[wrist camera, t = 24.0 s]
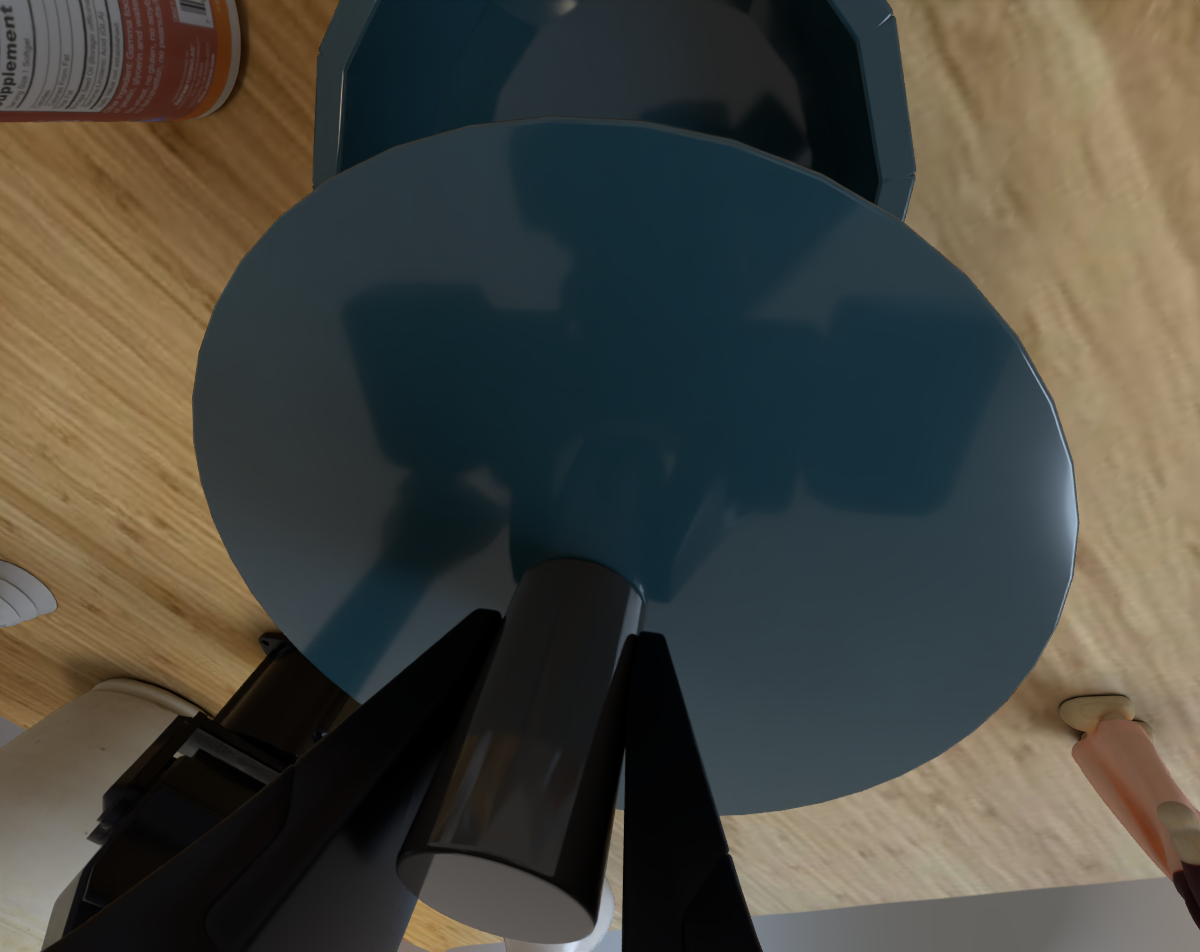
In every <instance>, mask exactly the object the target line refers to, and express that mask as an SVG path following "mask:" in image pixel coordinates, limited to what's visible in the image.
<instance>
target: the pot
mask: <svg viewBox="0 0 1200 952" xmlns="http://www.w3.org/2000/svg"><path fill="white" fill-rule="evenodd" d="M892 15H893V11H892V8H891V7H890V5H889V4H888V2H887V0H340V1H339V3H338V6H337V8H336V10H335V13H334V15H333V17H332V20H331V22H330V24H329V27H328V29H327V31H326V34H325V36H324V38H323V40H322V43H321V45H320V47H319V52H320V54H318V56H317V78H316V103H315V129H314V154H313V180H312V181H313V184H314V185H313V191H314V190H315V189H316V188H318V187H319V186H320V185H321V184H323V183H324V182H325V181H327V180H328V179H329V178H331V177H333V176H335V175H337V174H339V173H341V172H343V171H345V170H347V169H349V168H351V167H353V166H355V165H357V164H359V163H361V162H363V161H365V160H367V159H369V158H371V157H373V156H375V155H377V154H379V153H381V152H383V151H385V150H387V149H389V148H391V147H393V146H396V145H400V144H403V143H407V142H410V141H414V140H417V139H421V138H424V137H428V136H431V135H435V134H438V133H442V132H445V131H449V130H452V129H456V128H459V127H462V126H466V125H471V124H480V123H489V122H498V121H507V120H516V119H525V118H534V117H544V116H553V115H558V116H579V117H598V118H616V119H635V120H649V121H654V122H658V123H663V124H668V125H672V126H677V127H682V128H686V129H691V130H696V131H700V132H705V133H709V134H714V135H719V136H723V137H728V138H733V139H736V140H739V141H741V142H744V143H746V144H749V145H751V146H754V147H757V148H759V149H762V150H764V151H767V152H770V153H772V154H775V155H777V156H780V157H782V158H785V159H788V160H790V161H793V162H795V163H798V164H800V165H803V166H806V167H808V168H811V169H813V170H816V171H818V172H820V173H822V174H823V175H825V176H827V177H828V178H830V179H832V180H834V181H835V182H837V183H839V184H840V185H842V186H844V187H845V188H847V189H849V190H851V191H852V192H854V193H856V194H857V195H859V196H861V197H863V198H864V199H866V200H868V201H869V202H871V203H873V204H874V205H876V206H878V207H880V208H881V209H883V210H885V211H886V212H888V213H890V214H891V215H893V216H895V217H897V218H898V219H900V220H902V221H903V222H904V221H905V217H906V213H907V209H908V205H909V201H910V197H911V194H912V190H913V186H914V182H915V174H914V173H915V172H916V164H915V157H914V149H913V142H912V134H911V127H910V120H909V112H908V105H907V98H906V90H905V83H904V75H903V68H902V61H901V53H900V46H899V39H898V31H897V24H896V18H895V17H894V16H892Z"/></svg>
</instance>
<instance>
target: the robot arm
mask: <svg viewBox="0 0 1200 952" xmlns="http://www.w3.org/2000/svg"><path fill="white" fill-rule="evenodd" d="M501 621H502V615H501V613H500V612H499V611H497V610H492V609H484V608H478V609H476V610H474V611H472V612H471V613H470V614H469V615H468V616H467V617H465V618H464V619H463V620H462V621H461V622H459V623H458V624H457V625H456V626H455V627H454V628H452V629H451V630H450V631H449V632H448V633H446V634H445V635H444V636H443V637H442V638H441V639H439V640H438V641H437V642H436V643H435V644H433V645H432V646H431V647H430V648H429V649H428V650H426V651H425V652H424V653H423V654H422V655H420V656H419V657H418V658H417V659H416V660H415V661H413V662H412V663H411V664H410V665H409V666H407V667H406V668H405V669H404V670H403V671H401V672H400V673H399V674H398V675H397V676H396V677H394V678H393V679H392V680H391V681H390V682H388V683H387V684H386V685H385V686H384V687H383V688H381V689H380V690H379V691H378V692H377V693H375V694H374V695H373V696H372V697H371V698H370V699H368V700H367V701H366V702H365V703H364V704H362V705H361V704H360V703H358V702H357V701H356V700H355V699H353V698H352V697H351V696H350V695H348V694H347V693H346V692H345V691H343V690H342V689H341V688H340V687H338V686H337V685H336V684H335V683H334V682H332V681H331V680H330V679H329V678H327V677H326V676H325V675H324V674H323V673H322V672H321V671H320V670H319V669H318V668H317V667H316V666H315V665H314V664H313V663H311V662H310V661H309V660H308V659H307V658H306V657H305V656H304V655H303V654H302V653H301V652H300V651H299V650H298V649H297V648H296V647H295V646H294V644H293V643H292V642H291V641H290V640H289V639H288V638H287V637H286V636H285V635H282V634H275V633H268V632H265V633H263V634H262V635H261V636H260V637H259V639H258V641H259V643H260V645H261V646H262V648H263V650H264V652H265V653H266V655H267V656H266V658H265V659H264V660H263V661H262V662H261V663H260V665H259V666H258V667H257V668H256V669H255V671H254V672H253V673H252V674H251V675H250V676H249V678H248V679H247V680H246V681H245V682H244V683H243V685H242V686H241V687H240V688H239V689H238V690H237V692H236V693H235V694H234V695H233V696H232V698H231V699H230V700H229V701H228V702H227V703H226V705H225V706H224V707H223V708H222V709H221V710H220V712H219V713H218V714H217V715H216V716H215V718H214V719H213V720H211V719H209V718H208V715H206V714H205V713H203V712H201V711H199V712H198V713H197V714H196V715H195V716H194V717H193V718H192V717H191V716H190V717H188V716H182V715H178V716H177V717H176V718H175V719H174V720H173V721H172V722H171V724H170V725H169V726H168V727H167V728H166V729H165V730H164V731H163V732H162V733H161V734H160V736H159V737H158V738H157V739H156V740H155V741H154V742H153V743H152V744H151V745H150V746H149V747H148V748H147V749H146V750H145V752H144V753H143V754H142V755H141V756H140V757H139V758H138V759H137V760H136V761H135V762H134V763H133V764H132V765H131V766H130V767H129V768H128V769H127V770H126V771H125V772H124V773H123V774H122V775H121V776H120V778H119V779H118V780H117V781H116V782H115V783H114V784H113V785H112V786H111V787H110V788H109V789H108V790H107V791H106V792H105V794H104V795H103V796H102V814H101V815H100V816H99V818H98V819H97V820H96V821H97V822H100V823H99V824H98V825H97V827H96V828H95V829H94V830H93V831H92V832H91V834H90V835H89V836H88V837H87V838H86V839H87V840H89V841H91V842H93V843H95V844H97V845H100V846H101V847H100V848H99V849H98V851H97V852H96V853H95V854H94V855H93V856H92V858H91V859H90V860H89V861H88V862H87V864H86V865H85V866H84V867H83V868H82V869H81V871H80V872H79V873H78V874H77V875H76V876H75V878H74V879H73V880H72V881H71V882H70V883H69V885H68V886H67V887H66V888H65V889H64V890H63V892H62V893H61V894H60V895H59V897H58V898H57V899H56V901H55V903H54V906H53V909H52V913H51V916H50V920H49V923H48V927H47V930H46V934H45V938H44V941H43V945H42V948H41V951H40V952H397V950H398V948H399V945H400V943H401V940H402V938H403V935H404V933H405V930H406V928H407V925H408V923H409V920H410V918H411V915H412V913H413V910H414V908H415V905H416V903H417V900H418V898H417V897H416V896H415V895H413V894H412V893H411V892H410V891H409V890H408V889H407V888H406V887H405V886H404V885H403V884H402V882H401V881H400V879H399V878H398V876H397V873H396V868H395V866H396V858H397V855H398V853H399V850H400V848H401V846H402V844H403V841H404V839H405V837H406V835H407V832H408V830H409V828H410V826H411V823H412V821H413V819H414V817H415V815H416V812H417V810H418V808H419V806H420V803H421V801H422V799H423V797H424V794H425V792H426V790H427V788H428V785H429V783H430V781H431V779H432V776H433V774H434V772H435V770H436V767H437V765H438V763H439V761H440V758H441V756H442V754H443V752H444V749H445V747H446V745H447V743H448V740H449V738H450V736H451V734H452V731H453V729H454V727H455V725H456V722H457V720H458V718H459V716H460V713H461V711H462V709H463V707H464V704H465V702H466V700H467V698H468V695H469V693H470V691H471V689H472V686H473V684H474V682H475V680H476V677H477V675H478V673H479V671H480V668H481V666H482V664H483V662H484V659H485V657H486V655H487V653H488V650H489V648H490V646H491V644H492V641H493V639H494V637H495V635H496V632H497V630H498V628H499V626H500V623H501ZM177 752H178V753H180V754H182V755H184V756H180V757H178V758H175V757H173V756H174V755H175V754H176V753H177ZM728 852H729V847H728V844H727V841H726V837H725V834H724V831H723V827H722V824H721V821H720V817H719V814H718V811H717V807H716V804H715V801H714V797H713V794H712V791H711V787H710V784H709V781H708V777H707V774H706V771H705V767H704V764H703V761H702V757H701V754H700V751H699V747H698V744H697V741H696V738H695V734H694V731H693V728H692V724H691V721H690V718H689V714H688V711H687V708H686V704H685V701H684V698H683V694H682V691H681V688H680V684H679V681H678V678H677V674H676V671H675V668H674V664H673V661H672V658H671V654H670V651H669V648H668V644H667V641H666V638H665V636H664V635H663V634H662V633H656V632H649V631H641V632H640V633H639V636H638V641H637V646H636V651H635V657H634V662H633V667H632V672H631V677H630V682H629V688H628V694H627V703H626V740H625V795H624V850H623V906H622V952H763V950H762V948H761V945H760V943H759V940H758V938H757V935H756V932H755V929H754V925H753V923H752V919H751V916H750V913H749V910H748V907H747V904H746V901H745V898H744V895H743V892H742V889H741V886H740V883H739V879H738V876H737V873H736V869H735V866H734V863H733V860H732V857H731V855H729V854H728Z"/></svg>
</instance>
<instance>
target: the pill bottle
mask: <svg viewBox="0 0 1200 952" xmlns="http://www.w3.org/2000/svg"><path fill="white" fill-rule="evenodd" d="M240 56H241V33H240V26H239V19H238V13H237V8H236V3H235V0H0V122H117V121H129V122H136V121H139V122H147V121H149V122H175V121H188V120H194V119H199V118H202V117H205V116H207V115H209V114H211V113H212V112H214V111H215V110H217V109H218V108H219V107H220V106H221V105H222V104H223V103H224V102H225V101H226V99H227V98H228V96H229V94H230V93H231V91H232V89H233V87H234V84H235V82H236V78H237V75H238V70H239V64H240Z"/></svg>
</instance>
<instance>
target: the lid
mask: <svg viewBox="0 0 1200 952" xmlns="http://www.w3.org/2000/svg"><path fill="white" fill-rule="evenodd" d="M192 409H193V442H194V448H195V453H196V459H197V464H198V470H199V475H200V481H201V485H202V488H203V491H204V494H205V497H206V500H207V503H208V506H209V509H210V513H211V516H212V519H213V522H214V524H215V526H216V528H217V530H218V533H219V535H220V537H221V539H222V541H223V543H224V545H225V548H226V550H227V552H228V554H229V556H230V558H231V560H232V562H233V563H234V565H235V567H236V568H237V570H238V571H239V573H240V575H241V576H242V578H243V580H244V581H245V583H246V585H247V586H248V588H249V590H250V591H251V593H252V594H253V595H254V597H255V598H256V599H257V601H258V602H259V603H260V605H261V606H262V607H263V609H264V610H265V611H266V613H267V614H268V615H269V617H270V618H271V619H272V621H273V622H274V623H275V624H276V626H277V627H278V628H279V629H280V630H281V631H282V632H283V633H284V634H285V636H286V637H287V638H288V639H289V640H290V641H291V642H292V643H293V644H294V646H295V647H296V648H297V649H298V650H299V651H300V652H301V653H302V654H303V655H304V656H305V657H306V658H307V659H308V660H309V661H310V662H311V663H313V664H314V665H315V666H316V667H317V668H318V669H319V670H320V671H321V672H322V673H323V674H324V675H325V676H326V677H327V678H329V679H330V680H331V681H332V682H334V683H335V684H336V685H337V686H338V687H340V688H341V689H342V690H343V691H345V692H346V693H347V694H348V695H350V696H351V697H352V698H353V699H355V700H356V701H357V702H358V703H360V704H361V705H362V704H364V703H365V702H366V701H367V700H368V699H370V698H371V697H372V696H373V695H374V694H375V693H377V692H378V691H379V690H380V689H381V688H383V687H384V686H385V685H386V684H387V683H388V682H390V681H391V680H392V679H393V678H394V677H396V676H397V675H398V674H399V673H400V672H401V671H403V670H404V669H405V668H406V667H407V666H409V665H410V664H411V663H412V662H413V661H415V660H416V659H417V658H418V657H419V656H420V655H422V654H423V653H424V652H425V651H426V650H428V649H429V648H430V647H431V646H432V645H433V644H435V643H436V642H437V641H438V640H439V639H441V638H442V637H443V636H444V635H445V634H446V633H448V632H449V631H450V630H451V629H452V628H454V627H455V626H456V625H457V624H458V623H459V622H461V621H462V620H463V619H464V618H465V617H467V616H468V615H469V614H470V613H471V612H472V611H474V610H476V609H478V608H484V609H492V610H497V611H499V612H500V613H501V615H502V621H501V623H500V626H499V628H498V630H497V632H496V635H495V637H494V639H493V641H492V644H491V646H490V648H489V650H488V653H487V655H486V657H485V659H484V662H483V664H482V666H481V668H480V671H479V673H478V675H477V677H476V680H475V682H474V684H473V686H472V689H471V691H470V693H469V695H468V698H467V700H466V702H465V704H464V707H463V709H462V711H461V713H460V716H459V718H458V720H457V722H456V725H455V727H454V729H453V731H452V734H451V736H450V738H449V740H448V743H447V745H446V747H445V749H444V752H443V754H442V756H441V758H440V761H439V763H438V765H437V767H436V770H435V772H434V774H433V776H432V779H431V781H430V783H429V785H428V788H427V790H426V792H425V794H424V797H423V799H422V801H421V803H420V806H419V808H418V810H417V812H416V815H415V817H414V819H413V821H412V823H411V826H410V828H409V830H408V832H407V835H406V837H405V839H404V841H403V844H402V846H401V848H400V850H399V853H398V855H397V858H396V866H395V868H396V873H397V876H398V878H399V879H400V881H401V882H402V884H403V885H404V886H405V887H406V888H407V889H408V890H409V891H410V892H411V893H412V894H413V895H415V896H416V897H417V898H418V899H419V900H421V901H422V902H423V903H425V904H426V905H428V906H429V907H431V908H433V909H434V910H436V911H438V912H440V913H441V914H443V915H445V916H447V917H449V918H451V919H453V920H456V921H458V922H460V923H462V924H465V925H467V926H470V927H472V928H475V929H478V930H481V931H484V932H487V933H490V934H493V935H497V936H500V937H504V938H508V939H513V940H518V941H523V942H530V943H538V944H565V943H572V942H577V941H580V940H583V939H585V938H587V937H588V936H590V935H591V934H592V932H593V931H594V929H595V927H596V925H597V922H598V916H599V910H600V904H601V897H602V891H603V885H604V878H605V872H606V866H607V860H608V853H609V847H610V841H611V834H612V828H613V822H614V816H615V809H619V810H624V795H625V740H626V703H627V694H628V688H629V682H630V677H631V672H632V667H633V662H634V657H635V651H636V646H637V641H638V636H639V633H640V632H641V631H649V632H656V633H662V634H663V635H664V636H665V638H666V641H667V644H668V648H669V651H670V654H671V658H672V661H673V664H674V668H675V671H676V674H677V678H678V681H679V684H680V688H681V691H682V694H683V698H684V701H685V704H686V708H687V711H688V714H689V718H690V721H691V724H692V728H693V731H694V734H695V738H696V741H697V744H698V747H699V751H700V754H701V757H702V761H703V764H704V767H705V771H706V774H707V777H708V781H709V784H710V787H711V791H712V794H713V797H714V801H715V804H716V807H717V811H718V814H719V816H724V815H746V814H755V813H764V812H773V811H782V810H787V809H793V808H798V807H803V806H808V805H813V804H818V803H823V802H827V801H830V800H834V799H837V798H840V797H844V796H847V795H851V794H854V793H858V792H861V791H864V790H866V789H869V788H872V787H874V786H877V785H879V784H882V783H884V782H887V781H889V780H892V779H894V778H897V777H899V776H901V775H903V774H905V773H907V772H909V771H911V770H913V769H915V768H917V767H919V766H921V765H922V764H924V763H926V762H928V761H930V760H932V759H934V758H936V757H938V756H939V755H941V754H942V753H943V752H945V751H946V750H948V749H949V748H951V747H952V746H954V745H955V744H957V743H958V742H959V741H961V740H962V739H964V738H965V737H967V736H968V735H970V734H971V733H972V732H974V731H975V730H976V729H977V728H978V727H979V726H980V725H981V724H983V723H984V722H985V721H986V720H987V719H988V718H989V717H990V716H991V715H992V714H993V713H995V712H996V711H997V710H998V709H999V708H1000V707H1001V706H1002V705H1003V704H1004V703H1005V702H1006V701H1007V700H1008V699H1009V698H1010V696H1011V695H1012V694H1013V693H1014V691H1015V690H1016V689H1017V688H1018V687H1019V685H1020V684H1021V683H1022V682H1023V680H1024V679H1025V678H1026V677H1027V675H1028V674H1029V673H1030V672H1031V670H1032V669H1033V668H1034V667H1035V665H1036V663H1037V661H1038V660H1039V658H1040V656H1041V654H1042V652H1043V650H1044V649H1045V647H1046V645H1047V643H1048V641H1049V640H1050V638H1051V636H1052V634H1053V632H1054V630H1055V629H1056V627H1057V625H1058V622H1059V619H1060V616H1061V613H1062V610H1063V607H1064V604H1065V601H1066V598H1067V595H1068V592H1069V588H1070V585H1071V582H1072V579H1073V575H1074V566H1075V557H1076V548H1077V539H1078V530H1079V513H1078V503H1077V493H1076V483H1075V474H1074V464H1073V459H1072V456H1071V453H1070V450H1069V447H1068V443H1067V440H1066V437H1065V434H1064V431H1063V428H1062V425H1061V421H1060V418H1059V415H1058V412H1057V409H1056V406H1055V403H1054V400H1053V398H1052V396H1051V394H1050V392H1049V391H1048V389H1047V387H1046V385H1045V383H1044V382H1043V380H1042V378H1041V376H1040V374H1039V373H1038V371H1037V369H1036V367H1035V365H1034V364H1033V362H1032V360H1031V358H1030V356H1029V355H1028V353H1027V351H1026V349H1025V347H1024V346H1023V344H1022V342H1021V340H1020V338H1019V337H1018V335H1017V334H1016V333H1015V332H1014V331H1013V330H1012V328H1011V327H1010V326H1009V325H1008V324H1007V322H1006V321H1005V320H1004V319H1003V318H1002V316H1001V315H1000V314H999V313H998V312H997V310H996V309H995V308H994V307H993V306H992V304H991V303H990V302H989V301H988V300H987V298H986V297H985V296H984V295H983V294H982V292H981V291H980V290H979V289H978V288H977V286H976V285H975V284H974V283H973V282H972V280H971V279H970V278H969V277H968V276H967V275H966V274H965V273H964V272H962V271H961V270H960V269H959V268H958V267H957V266H955V265H954V264H953V263H952V262H951V261H949V260H948V259H947V258H946V257H945V256H943V255H942V254H941V253H940V252H939V251H937V250H936V249H935V248H934V247H933V246H931V245H930V244H929V243H928V242H927V241H925V240H924V239H923V238H922V237H921V236H920V235H918V234H917V233H916V232H915V231H914V230H912V229H911V228H910V227H909V226H908V225H906V224H905V223H904V222H903V221H902V220H900V219H898V218H897V217H895V216H893V215H891V214H890V213H888V212H886V211H885V210H883V209H881V208H880V207H878V206H876V205H874V204H873V203H871V202H869V201H868V200H866V199H864V198H863V197H861V196H859V195H857V194H856V193H854V192H852V191H851V190H849V189H847V188H845V187H844V186H842V185H840V184H839V183H837V182H835V181H834V180H832V179H830V178H828V177H827V176H825V175H823V174H822V173H820V172H818V171H816V170H813V169H811V168H808V167H806V166H803V165H800V164H798V163H795V162H793V161H790V160H788V159H785V158H782V157H780V156H777V155H775V154H772V153H770V152H767V151H764V150H762V149H759V148H757V147H754V146H751V145H749V144H746V143H744V142H741V141H739V140H736V139H733V138H728V137H723V136H719V135H714V134H709V133H705V132H700V131H696V130H691V129H686V128H682V127H677V126H672V125H668V124H663V123H658V122H654V121H649V120H635V119H616V118H598V117H579V116H558V115H553V116H544V117H534V118H525V119H516V120H507V121H498V122H489V123H480V124H471V125H466V126H462V127H459V128H456V129H452V130H449V131H445V132H442V133H438V134H435V135H431V136H428V137H424V138H421V139H417V140H414V141H410V142H407V143H403V144H400V145H396V146H393V147H391V148H389V149H387V150H385V151H383V152H381V153H379V154H377V155H375V156H373V157H371V158H369V159H367V160H365V161H363V162H361V163H359V164H357V165H355V166H353V167H351V168H349V169H347V170H345V171H343V172H341V173H339V174H337V175H335V176H333V177H331V178H329V179H328V180H327V181H325V182H324V183H323V184H321V185H320V186H319V187H318V188H316V189H315V190H314V191H312V192H311V193H310V194H308V195H307V196H306V197H304V198H303V199H302V200H300V201H299V202H298V203H297V204H295V205H294V206H293V207H291V208H290V209H289V210H287V211H286V212H285V213H283V214H282V215H281V216H280V217H279V218H278V219H277V220H276V221H275V222H274V223H273V225H272V226H271V227H270V228H269V229H268V230H267V231H266V232H265V234H264V235H263V236H262V237H261V238H260V239H259V240H258V242H257V243H256V244H255V245H254V246H253V247H252V248H251V250H250V251H249V252H248V253H247V254H246V255H245V256H244V257H243V259H242V260H241V261H240V263H239V265H238V267H237V268H236V270H235V272H234V273H233V275H232V277H231V279H230V280H229V282H228V284H227V286H226V287H225V289H224V291H223V293H222V294H221V296H220V298H219V299H218V301H217V303H216V305H215V306H214V309H213V312H212V315H211V318H210V321H209V324H208V327H207V330H206V333H205V336H204V339H203V342H202V344H201V347H200V350H199V354H198V361H197V368H196V375H195V382H194V389H193V396H192Z"/></svg>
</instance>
